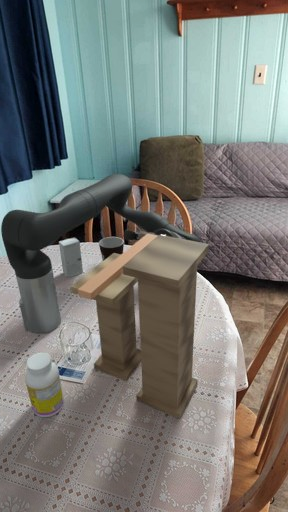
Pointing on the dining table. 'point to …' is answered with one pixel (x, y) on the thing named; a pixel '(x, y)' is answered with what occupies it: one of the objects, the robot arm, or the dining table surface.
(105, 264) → the pedestals
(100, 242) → the coffee mug
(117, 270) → the slat
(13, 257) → the robot arm
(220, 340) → the dining table surface
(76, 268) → the skincare box
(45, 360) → the supplement bottle
